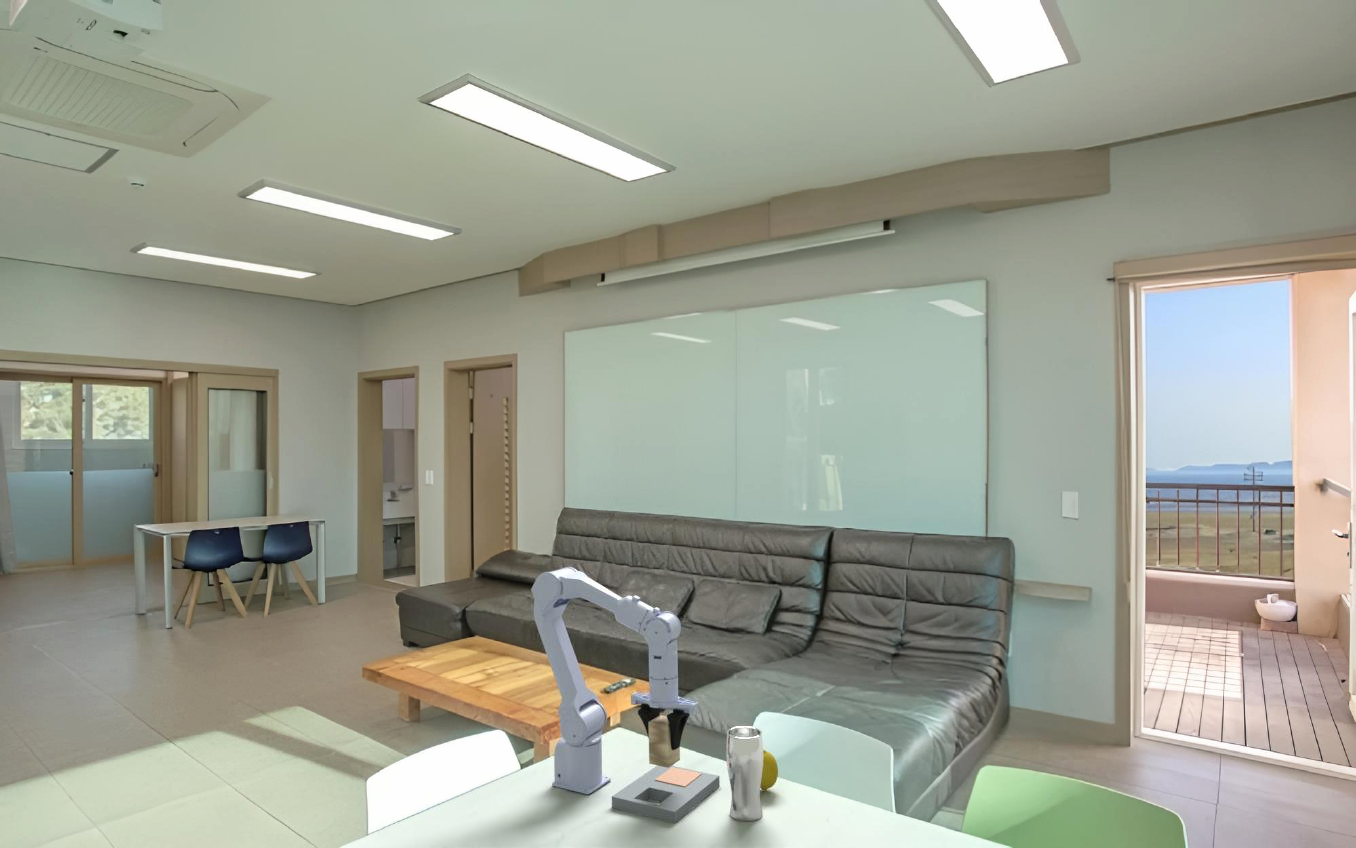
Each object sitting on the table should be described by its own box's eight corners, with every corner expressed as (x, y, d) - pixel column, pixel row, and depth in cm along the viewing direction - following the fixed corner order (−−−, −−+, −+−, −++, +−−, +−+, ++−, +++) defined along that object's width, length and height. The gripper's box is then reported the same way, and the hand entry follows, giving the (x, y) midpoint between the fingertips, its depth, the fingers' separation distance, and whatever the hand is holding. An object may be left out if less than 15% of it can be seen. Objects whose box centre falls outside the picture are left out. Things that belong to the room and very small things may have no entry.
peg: (649, 763, 148) (648, 722, 148) (661, 756, 152) (660, 715, 152) (668, 767, 146) (667, 725, 146) (679, 760, 149) (679, 718, 150)
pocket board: (611, 807, 145) (611, 795, 145) (660, 773, 160) (660, 762, 160) (675, 823, 138) (674, 810, 138) (719, 786, 153) (719, 774, 153)
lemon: (777, 798, 147) (776, 756, 148) (749, 796, 148) (748, 754, 149) (779, 786, 153) (778, 745, 153) (752, 784, 154) (751, 744, 154)
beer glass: (768, 808, 143) (766, 727, 144) (760, 825, 136) (758, 740, 137) (732, 803, 145) (731, 724, 146) (723, 820, 139) (721, 736, 139)
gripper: (621, 676, 150) (622, 746, 149) (684, 686, 143) (686, 759, 142) (641, 667, 156) (642, 735, 155) (702, 676, 149) (704, 747, 148)
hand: (664, 746), depth 149 cm, fingers closed on peg, 4 cm apart
